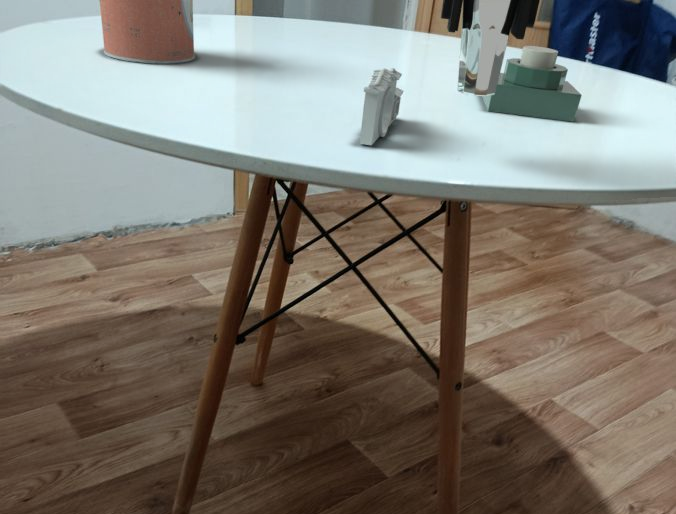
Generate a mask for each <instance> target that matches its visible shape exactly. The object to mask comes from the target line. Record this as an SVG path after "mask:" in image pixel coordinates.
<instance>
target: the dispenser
mask: <svg viewBox="0 0 676 514" xmlns="http://www.w3.org/2000/svg"><path fill="white" fill-rule="evenodd" d="M520 59H521V58H519V57H518V58H517V57H513V58H508V59H506V61H505V65H504V70H503V72H500V75H499V80H498V84H497V88H496V92H495V94H494V95H489V96H481V97H482V100H483V102H484V104H485V108H486V109H487V112H492V113H500V114H510V115H517V116H523V117H524V116H525V117H533V118H540V119H548V120H556V121H563V122H572V123H573V122H575V120H576V116H577V113H578V110H579V106H580V102H581V99H582V94H581V93H580V92H579V91H578V90H577V89H576V88H575V86H573V84H571V83H570V82H569V81H568V80H566V78H567V74H568V71H569V69H568V68H567V67H566V66H564V65H561V64H557V63H555V67H554V69H545V68H537V67H531V66H527V65H523V64H520Z"/></svg>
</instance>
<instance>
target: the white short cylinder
mask: <svg viewBox="0 0 676 514" xmlns="http://www.w3.org/2000/svg"><path fill="white" fill-rule="evenodd" d="M558 56H559V51H558V50H556V49H554V48H553V49H552V48H549V47H544V46H536V45H524V46H523V47H522V51H521V55H520V58H519V59H520V64H523V65H527V66H531V67H537V68H545V69H554V67H555V64H557V63H556V62H557V59H558Z"/></svg>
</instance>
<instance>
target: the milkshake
mask: <svg viewBox="0 0 676 514" xmlns="http://www.w3.org/2000/svg"><path fill="white" fill-rule="evenodd" d="M518 2H519V0H463V3H462V12H461V14H462V16H461V35H460V36H461V37H460V48H459V49H460V50H459V65H458V77H457V78H458V79H457V92H460V93H462V94H464V95H470V96H473V97H475V96H477V97H478V96H480V97H482V96H489V95H494V94H495V92H496V88H497V84H498V80H499V75H500V73H501V70H502V66H503V62H504V58H505V54H506V50H507V47H508V46H507V45H508V41H509V37H510V34H511V27H512V24H513V20H514V17H515V13H516V9H517V6H518Z"/></svg>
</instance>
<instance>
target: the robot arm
mask: <svg viewBox="0 0 676 514" xmlns="http://www.w3.org/2000/svg"><path fill="white" fill-rule="evenodd" d="M540 1H541V0H519V2H518V6H517V9H516V13H515V17H514V20H513V24H512V27H511V30H510V34H511V35H512V36H513V37H514V38H515V39H516V40H523V41H524V38H525V35H526V31H527V28H530V29H531V28H534V26H535V23H536V19H537V14H538V10H539V6H540ZM462 10H463V0H442V5H441V11H440V12H441V13H440V19H442V20H447V27H446V28H447V32H448V33H452V34H453V33H456V32H458V31H459V26H460V20H461V14H462Z"/></svg>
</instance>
